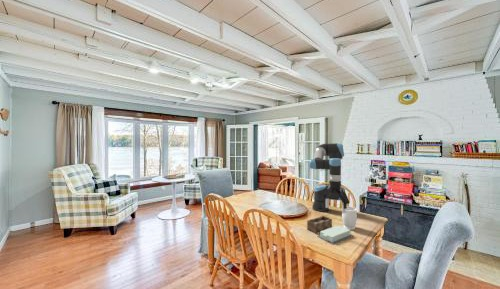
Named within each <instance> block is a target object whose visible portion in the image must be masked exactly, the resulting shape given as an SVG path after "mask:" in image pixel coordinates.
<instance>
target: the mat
mask: <svg viewBox="0 0 500 289" xmlns="http://www.w3.org/2000/svg"><path fill="white" fill-rule="evenodd" d="M316 236H317V238H320V239H321V240H323V241H325V242H327V243H329V244H331V245H336V244H338V243H341V242H342V241H345V240H347V239H350V238H352V237H354V235H353V234H351V233H350V235H349V236H347V237H344V238H342V239H339V240H337V241H335V242H330V241H328V240H326V239H324V238H322V237H320V234H319V235H316Z"/></svg>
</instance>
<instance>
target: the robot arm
mask: <svg viewBox="0 0 500 289" xmlns="http://www.w3.org/2000/svg"><path fill="white" fill-rule="evenodd" d="M325 157H328V159H324V158H325ZM343 157H345V152H344V145H343V144H342V143H322V144H319V145H317V146H316V147H315V149H314V156H313V159H312V158H311V159H310V160H309V162H308V165H309V169H310V170H327V171H328V170H329V181H328V182H329V184H327V185H326V184H317V185H315V186H314V187H313V194H314V195H313V198H314V199H313V200H314V201H313V203H312V207H311V208H312V210H313V211H315V212H321V213H322V212H323V213H325V212H326V213H327V212H328V211H329V208H330V201H341V202H342V203H341V215H342V214H344V213H346V208H347V205H348V204H350V200H349V198H348V195H347V193H346V189H345V188H344V187H343V185H342V181H341V180H342V160H343Z"/></svg>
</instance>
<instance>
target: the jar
mask: <svg viewBox="0 0 500 289" xmlns="http://www.w3.org/2000/svg"><path fill="white" fill-rule="evenodd" d="M357 210H358V209H357V208H356V207H354V206H353V207H352V206H347V208H346V213H344V214H342V213H341V217H342V223H343V226H342V227H344V228H347V229H349V230H350V231H352V230H353V231H354V230H355V229H356V224H357V219H358V218H357V217H358V215H357V214H358V213H357Z"/></svg>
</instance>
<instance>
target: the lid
mask: <svg viewBox="0 0 500 289" xmlns="http://www.w3.org/2000/svg"><path fill="white" fill-rule="evenodd" d="M350 234H351V230H349V229H347V228H344V227H343V226H342V225H339V224H338V225H335V226H332V228H329V229H326V230H323V231H320V232H319V235H320V237H322V238H324V239H326V240H328V241H330V242H335V241H337V240H339V239H342V238H344V237H347V236H349V235H350Z"/></svg>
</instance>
